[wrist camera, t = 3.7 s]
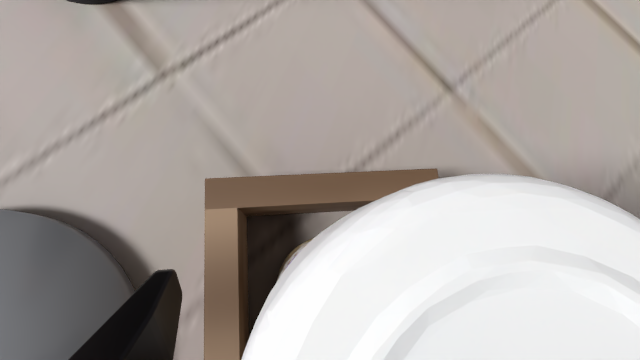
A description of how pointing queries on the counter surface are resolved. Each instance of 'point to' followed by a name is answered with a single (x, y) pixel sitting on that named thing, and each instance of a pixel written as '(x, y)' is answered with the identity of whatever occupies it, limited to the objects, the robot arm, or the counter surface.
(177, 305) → the robot arm
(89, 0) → the travel mug
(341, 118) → the counter surface
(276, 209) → the walnut socket
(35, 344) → the slate plate
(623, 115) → the counter surface
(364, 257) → the sprinkles bottle
